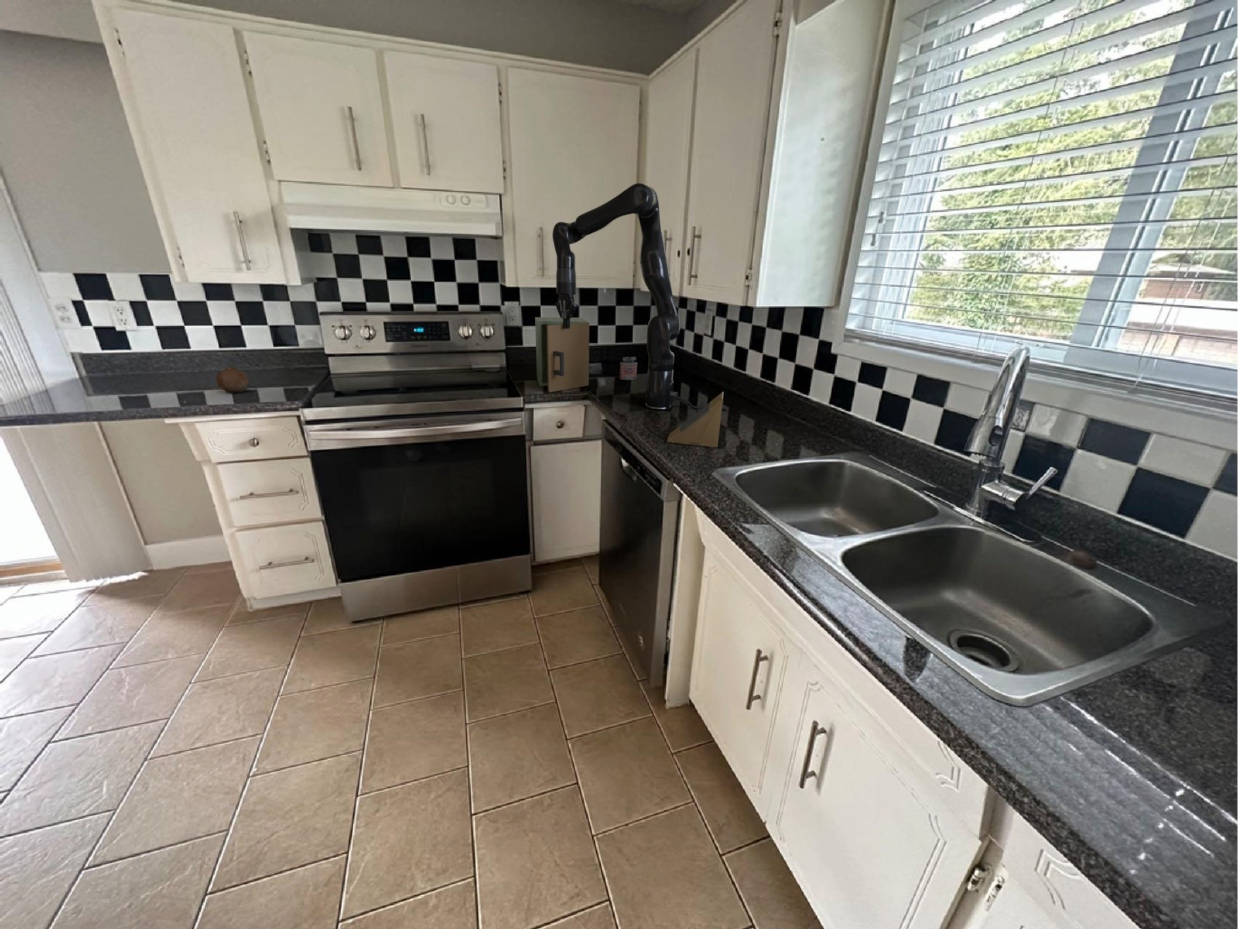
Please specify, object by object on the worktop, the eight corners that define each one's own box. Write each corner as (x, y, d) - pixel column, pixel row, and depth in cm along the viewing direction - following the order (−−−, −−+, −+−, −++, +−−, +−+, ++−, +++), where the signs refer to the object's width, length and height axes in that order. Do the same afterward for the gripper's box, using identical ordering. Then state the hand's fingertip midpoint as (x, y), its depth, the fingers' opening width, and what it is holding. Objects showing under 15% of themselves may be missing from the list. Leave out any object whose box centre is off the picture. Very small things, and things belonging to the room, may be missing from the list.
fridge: (587, 385, 214) (588, 321, 204) (539, 386, 210) (537, 321, 200) (582, 377, 227) (582, 317, 217) (536, 378, 222) (535, 317, 212)
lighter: (620, 380, 226) (621, 357, 222) (618, 378, 229) (619, 356, 225) (637, 379, 228) (638, 357, 224) (635, 377, 231) (636, 356, 227)
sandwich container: (669, 433, 159) (673, 386, 153) (718, 438, 156) (723, 391, 151) (666, 442, 151) (669, 393, 146) (717, 447, 148) (723, 398, 143)
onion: (237, 397, 190) (234, 371, 190) (256, 392, 187) (253, 366, 188) (211, 394, 181) (207, 366, 181) (230, 389, 178) (227, 361, 179)
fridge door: (596, 388, 210) (597, 323, 200) (557, 395, 197) (556, 327, 187) (587, 385, 214) (587, 322, 204) (547, 391, 201) (546, 325, 191)
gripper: (548, 280, 191) (549, 327, 197) (567, 281, 181) (567, 330, 188) (565, 280, 195) (565, 326, 202) (584, 281, 186) (584, 329, 192)
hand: (566, 328), depth 195 cm, fingers closed
